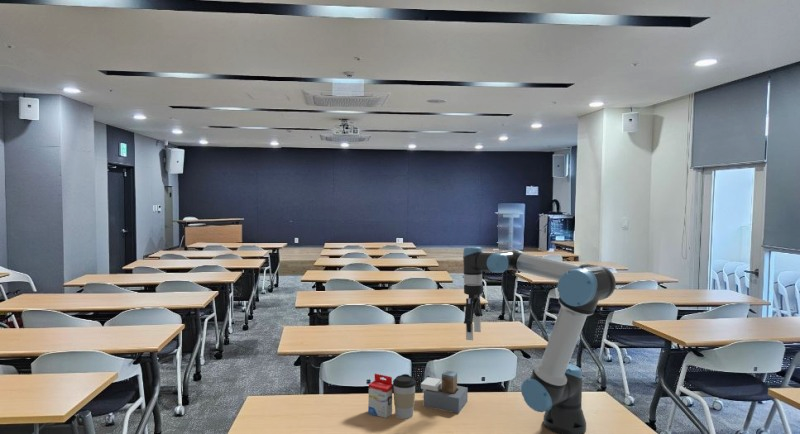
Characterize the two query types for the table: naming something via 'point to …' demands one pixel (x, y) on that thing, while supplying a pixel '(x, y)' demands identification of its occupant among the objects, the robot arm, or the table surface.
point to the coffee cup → (404, 396)
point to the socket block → (446, 399)
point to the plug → (449, 382)
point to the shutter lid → (431, 384)
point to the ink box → (380, 396)
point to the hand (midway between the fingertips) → (473, 335)
